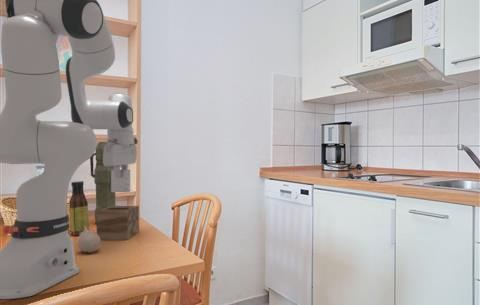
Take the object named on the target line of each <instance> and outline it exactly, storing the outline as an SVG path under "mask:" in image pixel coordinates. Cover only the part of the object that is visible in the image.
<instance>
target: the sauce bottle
mask: <svg viewBox="0 0 480 305" xmlns="http://www.w3.org/2000/svg"><path fill="white" fill-rule="evenodd" d="M84 183H85V182H84V181H83V180H77V181H71V190H72V192H71V193H72V195H71V197H70V198H69V227H70V232H71V234H70V235H71V236H76V237H77V236H78V237H79V235H80V233H81V232H83V231H84V230H85V228H84V226H86V227H87V229H88V230H89V231H90V220H89V218H90V216H89V203H88V200H87V198H86V195H85V192H84Z"/></svg>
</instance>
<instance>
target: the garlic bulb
mask: <svg viewBox="0 0 480 305" xmlns="http://www.w3.org/2000/svg"><path fill="white" fill-rule="evenodd" d="M84 228H85V230H84V231H83V232H81V233H80V235H79V236H78V239H77V247H78V249H79V251H81V252H83V253H94V252H96V251H98V249H99V248H100V245H101V241H102V240H101V239H100V237H99V236H98V234H97V231H93V230H90V229H89V230H88V229H87V227H86V226H84Z"/></svg>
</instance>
